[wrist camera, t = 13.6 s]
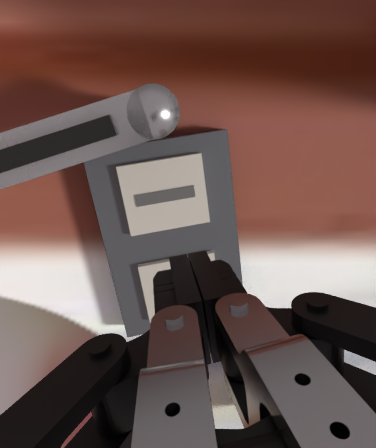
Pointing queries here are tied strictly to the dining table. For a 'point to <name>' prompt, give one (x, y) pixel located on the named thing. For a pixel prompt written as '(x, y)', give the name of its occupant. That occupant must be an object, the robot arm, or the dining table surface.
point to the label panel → (163, 212)
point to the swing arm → (86, 133)
